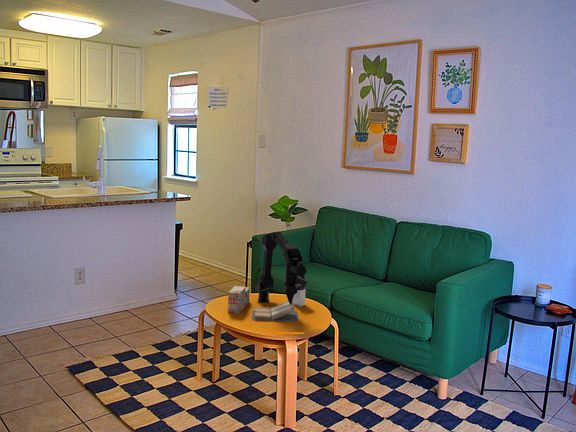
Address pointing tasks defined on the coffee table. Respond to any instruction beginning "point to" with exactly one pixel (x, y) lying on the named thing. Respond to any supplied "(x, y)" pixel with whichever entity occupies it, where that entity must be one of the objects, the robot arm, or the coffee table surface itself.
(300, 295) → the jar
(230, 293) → the stack of blocks
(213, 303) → the coffee table surface
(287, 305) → the ash plank
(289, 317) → the underlay mat
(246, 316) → the coffee table surface
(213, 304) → the coffee table surface
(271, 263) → the robot arm
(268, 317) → the oak board
